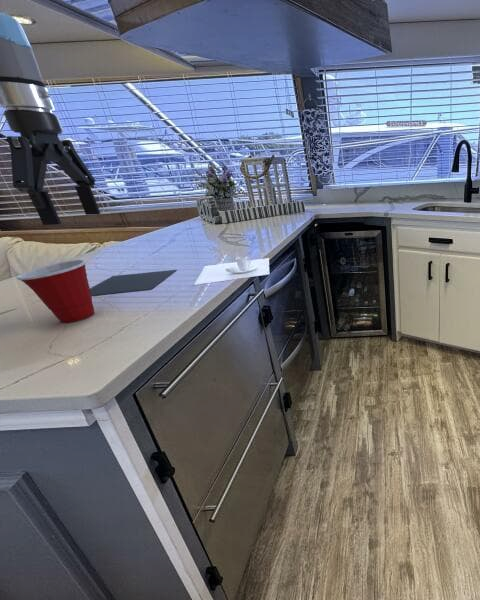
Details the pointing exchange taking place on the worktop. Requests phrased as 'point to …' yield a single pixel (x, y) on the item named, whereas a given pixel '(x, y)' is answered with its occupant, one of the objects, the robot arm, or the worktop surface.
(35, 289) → the plastic cup
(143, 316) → the worktop surface
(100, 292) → the mat
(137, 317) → the worktop surface
